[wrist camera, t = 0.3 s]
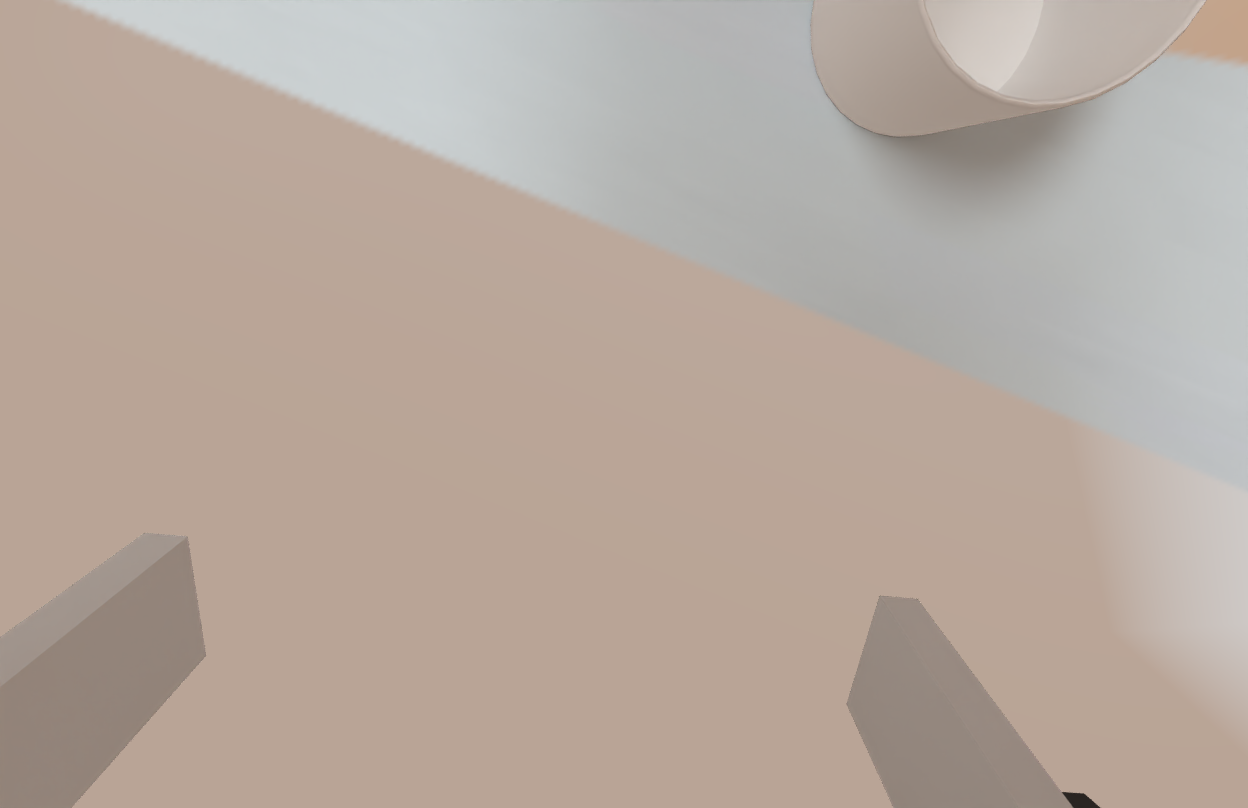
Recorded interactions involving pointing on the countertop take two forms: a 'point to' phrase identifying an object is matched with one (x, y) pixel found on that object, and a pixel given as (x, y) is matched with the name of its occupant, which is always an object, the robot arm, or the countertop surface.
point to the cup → (982, 56)
